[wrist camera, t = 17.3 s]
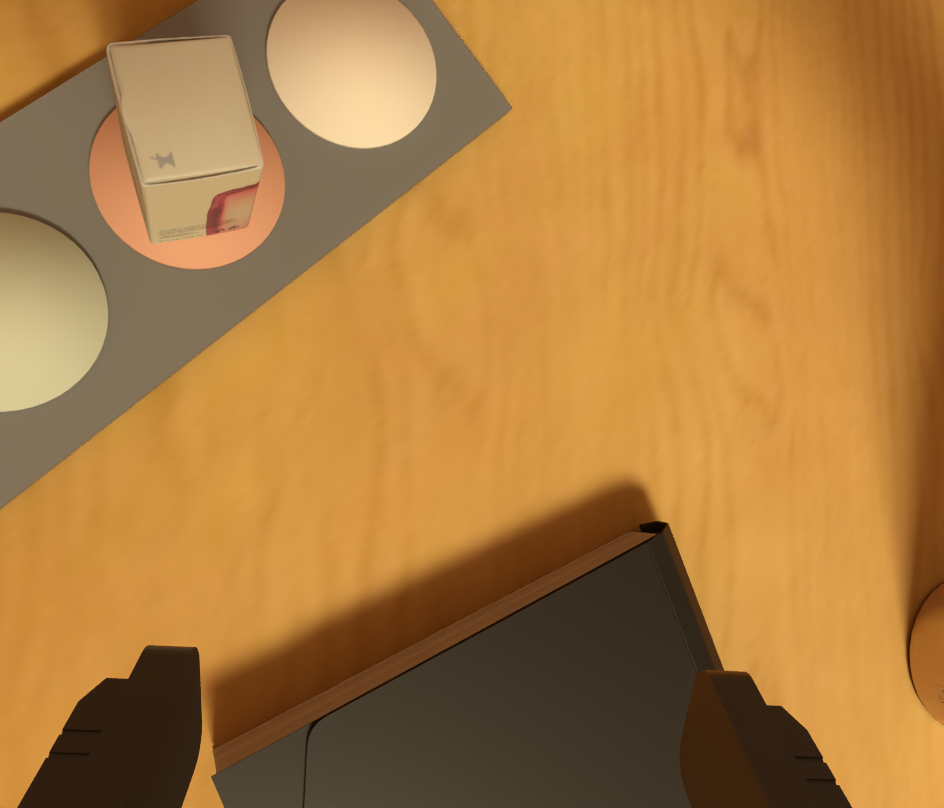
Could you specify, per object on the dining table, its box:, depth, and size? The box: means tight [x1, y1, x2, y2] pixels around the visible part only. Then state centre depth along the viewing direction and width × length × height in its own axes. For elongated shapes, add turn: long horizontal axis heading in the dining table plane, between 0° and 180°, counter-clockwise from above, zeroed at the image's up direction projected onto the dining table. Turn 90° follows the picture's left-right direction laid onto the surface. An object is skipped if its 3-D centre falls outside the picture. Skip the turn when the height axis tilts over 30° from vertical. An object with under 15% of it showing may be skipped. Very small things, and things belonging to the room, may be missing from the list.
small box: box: [106, 35, 264, 244], centre depth 32 cm, size 5×4×8 cm
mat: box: [0, 0, 512, 509], centre depth 36 cm, size 30×12×1 cm, turn 132°
